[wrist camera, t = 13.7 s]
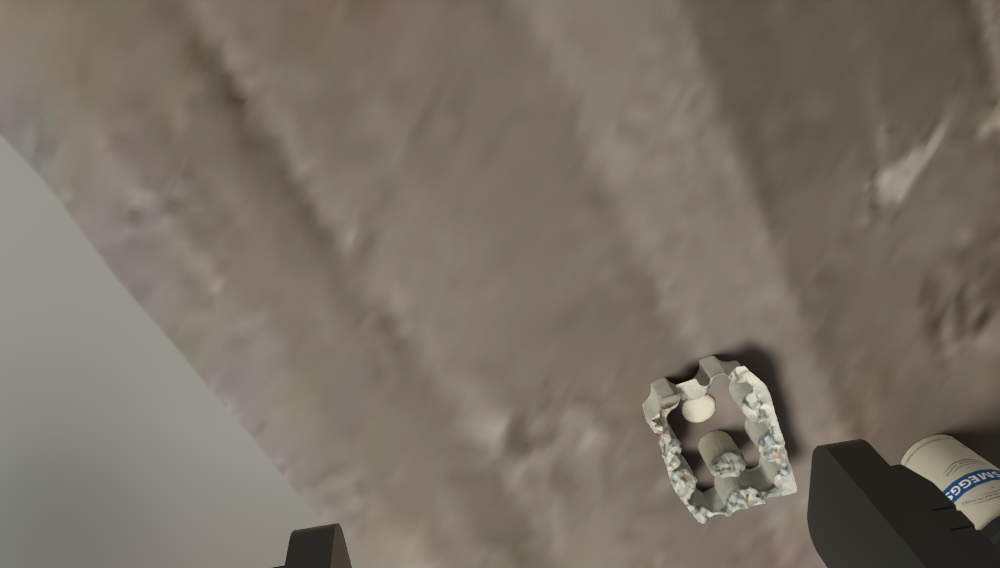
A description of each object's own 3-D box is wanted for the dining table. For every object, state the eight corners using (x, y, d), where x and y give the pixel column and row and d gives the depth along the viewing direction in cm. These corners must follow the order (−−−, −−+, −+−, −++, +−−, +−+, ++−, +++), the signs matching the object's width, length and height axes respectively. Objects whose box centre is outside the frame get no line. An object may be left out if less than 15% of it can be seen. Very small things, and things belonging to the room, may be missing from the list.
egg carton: (629, 383, 48) (647, 419, 45) (740, 338, 48) (768, 371, 44) (676, 501, 53) (696, 544, 49) (778, 461, 52) (806, 501, 48)
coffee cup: (972, 489, 55) (1083, 597, 46) (880, 509, 55) (974, 620, 46) (983, 411, 52) (1105, 509, 43) (886, 430, 52) (988, 534, 43)
